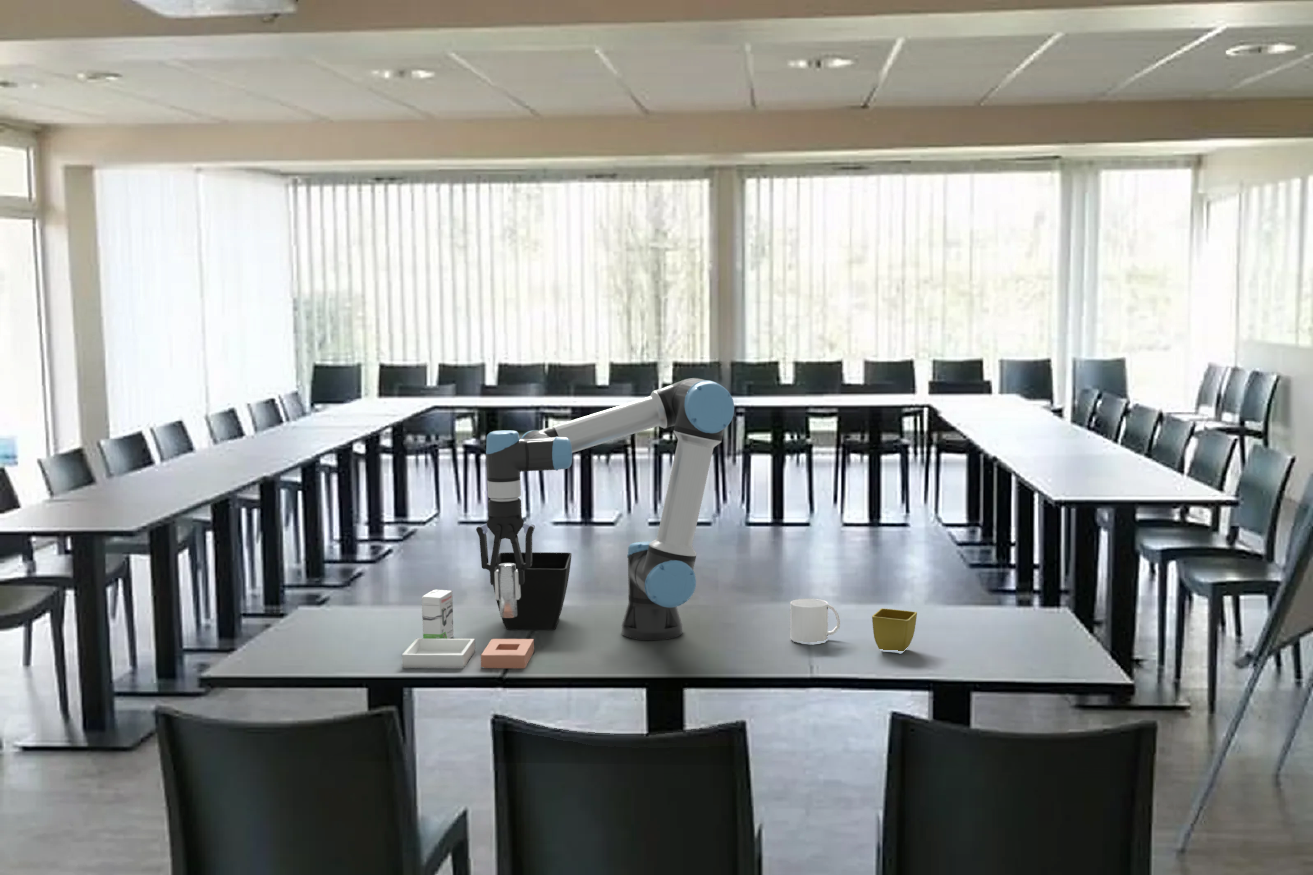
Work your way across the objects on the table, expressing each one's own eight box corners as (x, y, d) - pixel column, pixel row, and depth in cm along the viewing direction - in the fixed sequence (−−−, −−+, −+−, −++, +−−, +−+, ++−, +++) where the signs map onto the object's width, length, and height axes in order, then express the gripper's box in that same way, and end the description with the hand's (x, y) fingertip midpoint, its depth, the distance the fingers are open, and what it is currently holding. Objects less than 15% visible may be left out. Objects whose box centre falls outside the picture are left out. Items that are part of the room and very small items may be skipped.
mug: (790, 645, 323) (790, 607, 322) (790, 635, 332) (790, 598, 331) (840, 646, 322) (841, 607, 321) (839, 636, 331) (839, 599, 330)
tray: (475, 651, 320) (474, 638, 319) (463, 668, 306) (462, 655, 305) (416, 651, 320) (416, 638, 320) (402, 668, 306) (402, 654, 306)
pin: (518, 613, 313) (516, 562, 312) (515, 617, 309) (514, 566, 308) (501, 613, 314) (499, 563, 312) (498, 618, 310) (496, 566, 308)
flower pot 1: (567, 633, 335) (566, 567, 333) (491, 634, 335) (489, 567, 334) (572, 614, 354) (571, 552, 352) (501, 615, 354) (499, 552, 352)
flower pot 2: (917, 648, 319) (917, 611, 318) (908, 658, 311) (908, 620, 310) (881, 644, 323) (881, 607, 321) (870, 654, 315) (871, 616, 314)
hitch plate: (534, 651, 319) (533, 639, 319) (524, 668, 305) (524, 655, 305) (492, 651, 320) (491, 638, 319) (481, 668, 306) (480, 655, 306)
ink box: (441, 645, 325) (440, 597, 324) (422, 644, 326) (420, 596, 325) (454, 636, 334) (453, 589, 332) (435, 635, 335) (434, 588, 333)
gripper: (543, 495, 311) (547, 594, 314) (470, 496, 312) (474, 594, 315) (539, 500, 304) (542, 602, 307) (464, 501, 305) (468, 602, 308)
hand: (508, 598), depth 311 cm, fingers closed on pin, 4 cm apart
